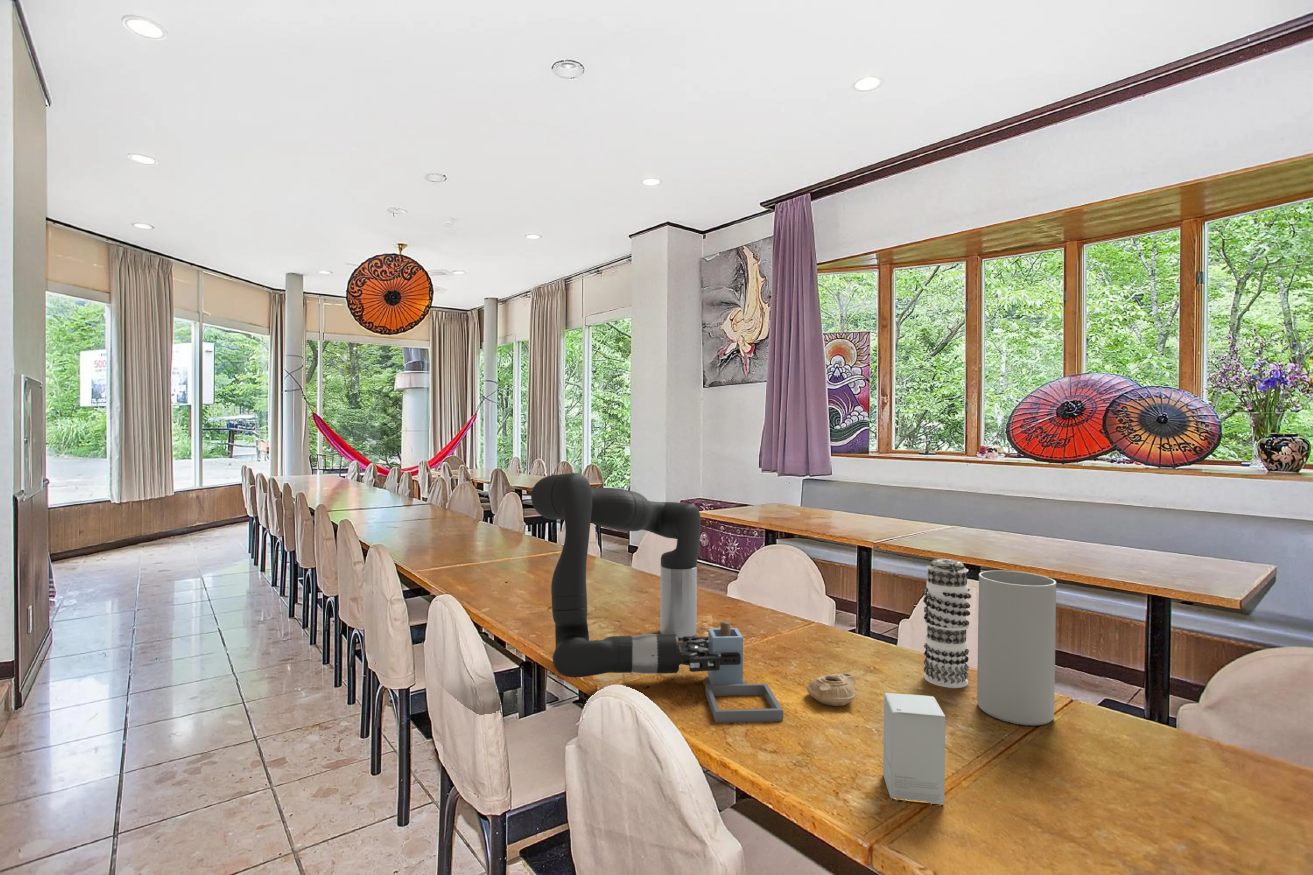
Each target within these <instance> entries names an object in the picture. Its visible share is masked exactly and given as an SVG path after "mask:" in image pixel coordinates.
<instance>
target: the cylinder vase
mask: <svg viewBox="0 0 1313 875" xmlns="http://www.w3.org/2000/svg"><path fill="white" fill-rule="evenodd" d="M977 606H978V612H977V615H978V616H977V621H978V623H977V676H976V677H977V678H976V680H977V682H976V687H977V688H976V690H977V691H976V701H977V702H976V703H977V706H978V707H979V709H980V710H982V711H983V712H984V713H986V714H987V715H989V716H990V717H992V718H994V719H998V720H1000V721H1003V722H1005V723H1009V722H1010V724H1015V725H1019V724H1020V725H1021V726H1029V725H1030V726H1043V725H1047V724H1049V723H1050V722H1052V720H1053V719H1054V717H1055V684H1056V683H1055V681H1056V680H1055V679H1056V676H1055V674H1056V673H1055V672H1056V622H1057V621H1056V615H1057V614H1056V612H1057V609H1056V608H1057V581H1056V580H1055V579H1053V578H1050V577H1048V576H1045V575H1041V574H1035V573H1030V572H1023V571H1013V570H985V571H981V572H979V573H978V605H977ZM1030 726H1029V727H1030Z"/></svg>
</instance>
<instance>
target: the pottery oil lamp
mask: <svg viewBox="0 0 1313 875" xmlns="http://www.w3.org/2000/svg"><path fill="white" fill-rule="evenodd" d="M855 686H856V679H855V676H854V674H852V673H848V672H839V673H838V672H837V673H835V674H825V675H822V676H818V677H817V678H815V679H813V680H812V681H810V682H809V683H808V684H807V685H806V691H807V693H808V694H809V695H810V696H811V697H812V698H813V699H814V700H816V701H817V702H819V703H821V704H823V705H827V706H832V707H844V706H845V705H847V704H849V703H850V702H852V701H854V700H855V699H856V697H857V693H856V691H855Z"/></svg>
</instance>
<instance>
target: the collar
mask: <svg viewBox="0 0 1313 875" xmlns="http://www.w3.org/2000/svg"><path fill="white" fill-rule="evenodd" d="M707 635H708V636H707V637H708V648H709V649H710V650H711V651H712V652H719V653H733V652H738V653H739V654H740V655H741V663H740V664H739V665H721V667H720V670H717V671H707V676H708V678H709V680H710V683H711V685H713V684H743V677H744V676H743V675H744V674H743V673H744V636H743V635H742V633H741V632H740V630H739V628H737V627H730V636H720V627H718V628H715V627H714V628H712V627H710V628H708V634H707ZM713 662H714V661H713Z"/></svg>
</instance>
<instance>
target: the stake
mask: <svg viewBox="0 0 1313 875" xmlns="http://www.w3.org/2000/svg"><path fill="white" fill-rule="evenodd" d="M719 628H720V636H730V628H731V622H730V621H721V622H720V627H719ZM743 684H748V681H747V680H746V679H745V678H743ZM702 685H704V686H705V687H706V685H711V683H710V680H709V678H708V675H707V676H705V677H704V678H703V679H702Z"/></svg>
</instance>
